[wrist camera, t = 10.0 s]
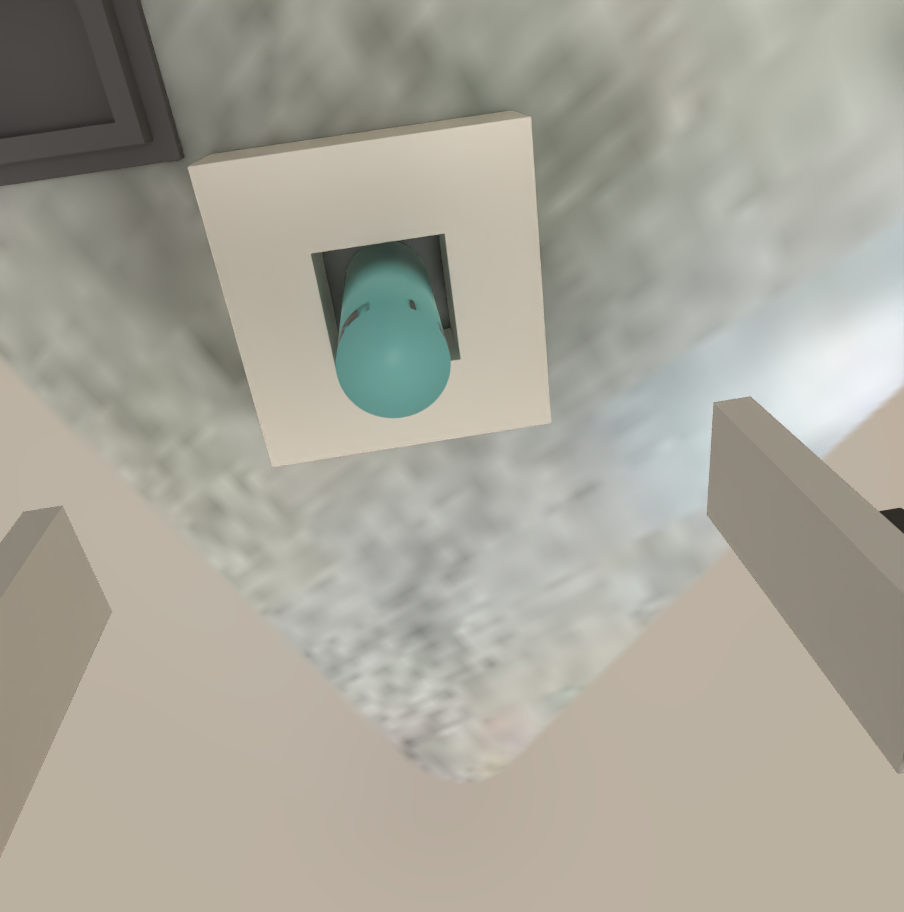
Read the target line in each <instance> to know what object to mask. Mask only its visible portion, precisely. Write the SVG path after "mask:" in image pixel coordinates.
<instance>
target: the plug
mask: <svg viewBox="0 0 904 912" xmlns="http://www.w3.org/2000/svg"><path fill="white" fill-rule="evenodd" d="M450 368H451V360H450V354H449V349H448V346H447V342H446V338H445V335H444V331H443V328H442V324H441V320H440V317H439V313H438V310H437V306H436V302H435V299H434V295H433V292H432V288H431V284H430V281H429V277H428V274H427V270H426V267H425V265H424V263H423V261H422V260H421V258H420V257H419V256H418V254H417V253H416V252H415V251H413V250H412V249H411V248H409V247H408V246H406V245H404V244H402V243H399V242H396V241H391V242H385V243H378V244H371V245H366V246H364V247H363V248H361V249H360V250H359V251H358V252H357V253H356V254H355V255H354V256H353V258H352V259H351V261H350V263H349V265H348V267H347V271H346V276H345V284H344V293H343V302H342V311H341V320H340V328H339V337H338V346H337V355H336V373H337V377H338V381H339V383H340V386H341V388H342V390H343V391H344V393H345V395H346V396H347V397H348V398H349V399H350V400H351V401H352V402H353V403H354V404H355V405H356V406H357V407H359V408H360V409H362V410H364V411H365V412H367V413H370V414H372V415H375V416H379V417H384V418H403V417H408V416H411V415H414V414H417V413H419V412H421V411H423V410H425V409H426V408H428V407H429V406H430V405H431V404H433V403H434V402H435V401H436V400H437V399H438V398H439V396H440V395H441V393H442V392H443V390H444V389H445V387H446V385H447V382H448V379H449V375H450Z"/></svg>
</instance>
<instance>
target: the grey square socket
mask: <svg viewBox="0 0 904 912" xmlns="http://www.w3.org/2000/svg"><path fill="white" fill-rule="evenodd" d="M183 158H184V155H183V152H182V148H181V145H180V141H179V138H178V134H177V130H176V127H175V123H174V120H173V116H172V113H171V109H170V106H169V102H168V99H167V95H166V91H165V88H164V84H163V81H162V77H161V74H160V70H159V67H158V63H157V60H156V56H155V53H154V49H153V45H152V42H151V38H150V35H149V31H148V28H147V24H146V21H145V17H144V14H143V10H142V7H141V3H140V0H0V186H3V185H10V184H17V183H24V182H31V181H37V180H44V179H51V178H58V177H65V176H72V175H79V174H86V173H92V172H99V171H106V170H113V169H120V168H127V167H134V166H141V165H147V164H154V163H161V162H168V161H175V160H181V159H183Z"/></svg>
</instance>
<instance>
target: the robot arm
mask: <svg viewBox="0 0 904 912" xmlns="http://www.w3.org/2000/svg"><path fill="white" fill-rule="evenodd" d="M707 515H708V517H709V518H710V519H711V521H712V522H713V523H714V525H715V526H716V528H717V529H718V530H719V532H720V533H721V534H722V536H723V537H724V538H725V540H726V541H727V543H728V544H729V545H730V547H731V548H732V549H733V551H734V552H735V553H736V555H737V556H738V557H739V559H740V560H741V562H742V563H743V564H744V566H745V567H746V568H747V570H748V571H749V572H750V574H751V575H752V576H753V578H754V579H755V581H756V582H757V583H758V585H759V586H760V587H761V589H762V590H763V591H764V593H765V594H766V595H767V597H768V598H769V600H770V601H771V602H772V604H773V605H774V606H775V608H776V609H777V610H778V612H779V613H780V614H781V616H782V617H783V618H784V620H785V621H786V623H787V624H788V625H789V627H790V628H791V629H792V631H793V632H794V634H795V635H796V636H797V638H798V639H799V640H800V642H801V643H802V644H803V646H804V647H805V648H806V650H807V651H808V653H809V654H810V655H811V657H812V658H813V659H814V661H815V662H816V663H817V665H818V666H819V668H820V669H821V670H822V671H823V673H824V674H825V676H826V677H827V678H828V680H829V681H830V682H831V684H832V685H833V687H834V688H835V689H836V691H837V692H838V693H839V695H840V696H841V697H842V699H843V700H844V701H845V703H846V704H847V705H848V707H849V708H850V710H851V711H852V712H853V714H854V715H855V716H856V718H857V719H858V720H859V722H860V723H861V725H862V726H863V727H864V729H865V730H866V731H867V733H868V734H869V735H870V737H871V738H872V739H873V741H874V742H875V744H876V745H877V746H878V748H879V749H880V750H881V752H882V753H883V754H884V756H885V757H886V758H887V760H888V761H889V763H890V764H891V765H892V767H893V768H894V769H895V771H896V772H897V773H898V774H899V773H904V509H902V508H896V509H890V510H884V511H878V510H877V509H876V508H874V507H873V506H872V505H871V504H870V503H869V502H868V501H867V500H865V499H864V498H863V497H862V496H861V495H860V494H859V493H858V492H857V491H855V490H854V489H853V488H852V487H851V486H850V485H849V484H848V483H847V482H845V481H844V480H843V479H842V478H841V477H840V476H839V475H838V474H836V473H835V472H834V471H833V470H832V469H831V468H830V467H829V466H828V465H826V464H825V463H824V462H823V461H822V460H821V459H820V458H819V457H818V456H816V455H815V454H814V453H813V452H812V451H811V450H810V449H809V448H808V447H806V446H805V445H804V444H803V443H802V442H801V441H800V440H799V439H797V438H796V437H795V436H794V435H793V434H792V433H791V432H790V431H789V430H787V429H786V428H785V427H784V426H783V425H782V424H781V423H780V422H779V421H777V420H776V419H775V418H774V417H773V416H772V415H771V414H770V413H768V412H767V411H766V410H765V409H764V408H763V407H762V406H761V405H760V404H758V403H757V402H756V401H755V400H754V399H753V398H752V397H751V396H750V397H744V398H738V399H731V400H725V401H719V402H714V405H713V421H712V438H711V454H710V471H709V487H708V503H707ZM111 613H112V611H111V608H110V606H109V604H108V602H107V600H106V598H105V595H104V593H103V591H102V589H101V587H100V585H99V583H98V581H97V578H96V576H95V574H94V572H93V570H92V568H91V565H90V563H89V562H88V559H87V557H86V555H85V553H84V551H83V548H82V546H81V544H80V542H79V540H78V538H77V535H76V534H75V531H74V529H73V527H72V525H71V523H70V521H69V519H68V516H67V514H66V512H65V510H64V508H63V506H57V507H51V508H44V509H38V510H33V511H25V512H23V513H22V514H21V516H20V517H19V519H18V520H17V521H16V523H15V524H14V525H13V527H12V528H11V530H10V531H9V532H8V534H7V535H6V536H5V537H4V539H3V540H2V541H1V543H0V857H1V854H2V852H3V850H4V848H5V846H6V843H7V841H8V839H9V837H10V835H11V833H12V830H13V828H14V826H15V824H16V822H17V819H18V817H19V815H20V813H21V811H22V808H23V806H24V804H25V802H26V799H27V797H28V795H29V793H30V791H31V789H32V786H33V784H34V782H35V780H36V777H37V775H38V773H39V771H40V769H41V766H42V764H43V762H44V760H45V758H46V756H47V753H48V751H49V749H50V747H51V745H52V742H53V740H54V738H55V736H56V733H57V731H58V729H59V727H60V725H61V723H62V720H63V718H64V716H65V714H66V711H67V709H68V707H69V705H70V703H71V700H72V698H73V696H74V694H75V692H76V690H77V687H78V685H79V683H80V681H81V679H82V676H83V674H84V672H85V670H86V668H87V665H88V663H89V661H90V658H91V657H92V654H93V652H94V650H95V648H96V646H97V643H98V641H99V639H100V637H101V634H102V632H103V630H104V628H105V626H106V624H107V621H108V619H109V617H110V615H111Z"/></svg>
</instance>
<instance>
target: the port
mask: <svg viewBox="0 0 904 912" xmlns="http://www.w3.org/2000/svg"><path fill="white" fill-rule="evenodd" d="M188 171H189V174H190V178H191V181H192V185H193V189H194V192H195V196H196V199H197V203H198V206H199V210H200V213H201V217H202V220H203V224H204V228H205V231H206V235H207V238H208V242H209V245H210V249H211V252H212V256H213V259H214V263H215V267H216V270H217V274H218V277H219V281H220V284H221V288H222V291H223V295H224V298H225V302H226V306H227V309H228V313H229V316H230V320H231V323H232V327H233V330H234V334H235V337H236V341H237V345H238V348H239V352H240V355H241V359H242V362H243V366H244V369H245V373H246V376H247V380H248V384H249V387H250V391H251V394H252V398H253V401H254V405H255V408H256V412H257V415H258V419H259V422H260V426H261V430H262V433H263V437H264V440H265V444H266V447H267V451H268V454H269V458H270V461H271V465H272V467H277V466H283V465H289V464H296V463H302V462H308V461H315V460H321V459H327V458H334V457H340V456H346V455H353V454H359V453H365V452H372V451H378V450H384V449H391V448H397V447H403V446H410V445H416V444H422V443H429V442H435V441H441V440H448V439H454V438H460V437H467V436H473V435H479V434H486V433H492V432H498V431H505V430H511V429H517V428H524V427H530V426H536V425H543V424H549V423H551V413H550V398H549V383H548V368H547V353H546V337H545V322H544V307H543V292H542V276H541V261H540V246H539V231H538V216H537V200H536V185H535V170H534V155H533V140H532V124H531V116H527V115H524V114H521V113H518V112H515V111H512V110H510V111H503V112H497V113H490V114H483V115H476V116H469V117H462V118H455V119H448V120H442V121H435V122H428V123H421V124H414V125H407V126H400V127H393V128H386V129H380V130H373V131H366V132H359V133H352V134H345V135H338V136H331V137H325V138H318V139H311V140H304V141H297V142H290V143H283V144H276V145H270V146H263V147H256V148H249V149H242V150H235V151H228V152H221V153H215V154H209V155H207V156H206V157H204V158H202V159H200V160H198V161H197V162H195V163H193V164H191V165H190V166H188ZM438 234H439V241H440V248H441V256H442V264H443V271H444V279H445V287H446V294H447V302H448V309H449V317H450V325H451V328H447V329H443V331H444V335H445V338H446V342H447V346H448V349H449V354H450V360H451V368H450V375H449V379H448V382H447V385H446V387H445V389H444V390H443V392H442V393H441V395H440V396H439V398H438V399H437V400H436V401H435V402H434V403H433V404H431V405H430V406H429V407H428V408H426V409H425V410H423V411H421V412H419V413H417V414H414V415H411V416H408V417H403V418H384V417H379V416H375V415H372V414H370V413H367V412H365V411H364V410H362V409H360V408H359V407H357V406H356V405H355V404H354V403H353V402H352V401H351V400H350V399H349V398H348V397H347V396H346V395H345V393H344V391H343V390H342V388H341V386H340V383H339V381H338V377H337V373H336V355H337V346H338V337H339V333H338V328H337V323H336V318H335V313H334V309H333V304H332V299H331V294H330V290H329V285H328V280H327V275H326V271H325V266H324V261H323V256H322V252H325V251H331V250H338V249H345V248H351V247H358V246H365V245H371V244H378V243H385V242H391V241H398V240H405V239H411V238H418V237H425V236H431V235H438Z"/></svg>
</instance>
